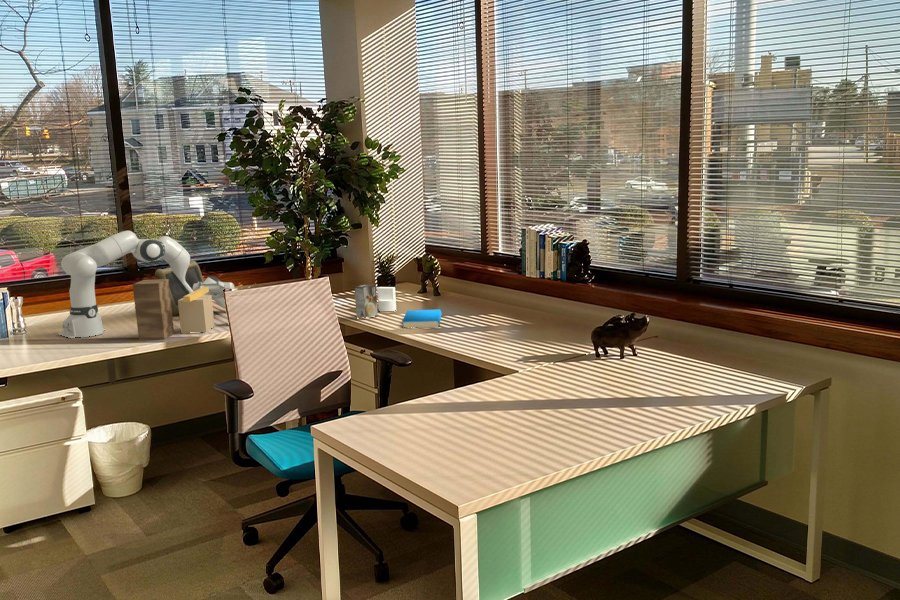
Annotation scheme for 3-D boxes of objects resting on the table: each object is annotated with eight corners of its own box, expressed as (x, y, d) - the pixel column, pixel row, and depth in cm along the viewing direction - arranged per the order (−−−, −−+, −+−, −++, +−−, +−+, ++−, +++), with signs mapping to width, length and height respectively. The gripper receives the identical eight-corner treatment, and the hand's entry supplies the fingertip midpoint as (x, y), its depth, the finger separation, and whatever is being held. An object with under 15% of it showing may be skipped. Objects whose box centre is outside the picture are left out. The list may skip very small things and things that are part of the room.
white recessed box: (376, 312, 428) (374, 289, 426) (383, 308, 436) (381, 285, 434) (392, 312, 425) (391, 289, 423) (399, 309, 433) (397, 286, 431)
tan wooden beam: (203, 291, 415) (202, 287, 414) (209, 291, 414) (208, 286, 414) (183, 301, 389) (183, 296, 389) (190, 301, 389) (189, 296, 388)
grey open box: (180, 316, 439) (175, 269, 434) (157, 316, 443) (151, 269, 438) (213, 304, 470) (208, 260, 465) (191, 304, 474) (186, 260, 469)
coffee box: (368, 315, 421) (366, 283, 418) (378, 316, 417) (376, 284, 414) (356, 318, 414) (354, 286, 411) (365, 320, 410) (363, 287, 407)
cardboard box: (190, 328, 408) (186, 295, 406) (214, 327, 408) (211, 295, 405) (181, 333, 397) (177, 300, 394) (206, 333, 396) (202, 299, 393)
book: (402, 321, 386) (406, 309, 411) (403, 330, 387) (406, 318, 412) (439, 319, 386) (441, 308, 410) (440, 329, 387) (441, 317, 411)
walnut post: (149, 334, 399) (143, 280, 394) (174, 333, 398) (168, 279, 394) (138, 340, 387) (132, 284, 383) (164, 339, 387) (158, 283, 382)
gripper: (198, 286, 433) (188, 277, 420) (237, 285, 432) (228, 276, 419) (197, 298, 431) (187, 289, 418) (236, 297, 430) (227, 288, 417)
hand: (208, 282), depth 418 cm, fingers open, 8 cm apart
